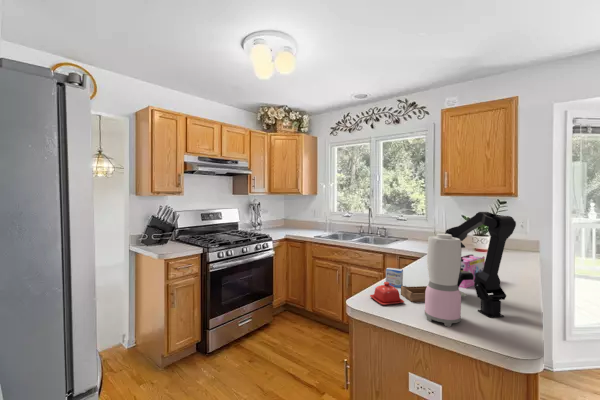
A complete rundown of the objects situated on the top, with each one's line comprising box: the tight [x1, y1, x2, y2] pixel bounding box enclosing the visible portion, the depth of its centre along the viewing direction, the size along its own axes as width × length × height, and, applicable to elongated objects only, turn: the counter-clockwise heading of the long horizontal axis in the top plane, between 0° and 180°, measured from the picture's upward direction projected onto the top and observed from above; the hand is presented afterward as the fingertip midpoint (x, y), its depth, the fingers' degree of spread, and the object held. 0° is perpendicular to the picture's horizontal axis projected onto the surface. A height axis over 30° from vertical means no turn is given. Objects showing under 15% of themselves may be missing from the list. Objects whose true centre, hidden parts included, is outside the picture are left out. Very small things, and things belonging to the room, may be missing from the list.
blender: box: [424, 233, 462, 328], centre depth 110 cm, size 16×12×32 cm
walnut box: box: [400, 285, 428, 303], centre depth 132 cm, size 10×14×4 cm
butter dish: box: [369, 281, 405, 306], centre depth 128 cm, size 12×12×8 cm
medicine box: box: [385, 267, 404, 289], centre depth 150 cm, size 8×4×9 cm, turn 62°
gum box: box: [459, 254, 486, 289], centre depth 157 cm, size 24×8×14 cm, turn 126°
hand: (453, 289), depth 134 cm, fingers closed
